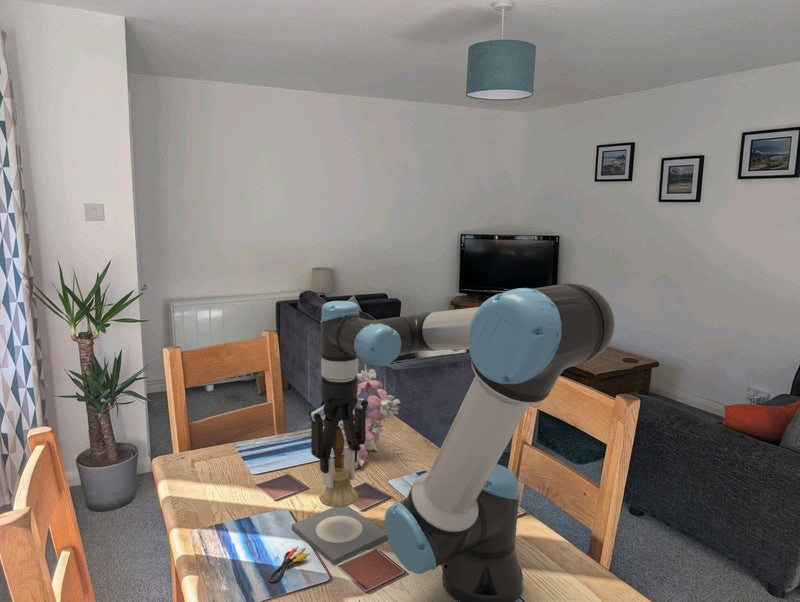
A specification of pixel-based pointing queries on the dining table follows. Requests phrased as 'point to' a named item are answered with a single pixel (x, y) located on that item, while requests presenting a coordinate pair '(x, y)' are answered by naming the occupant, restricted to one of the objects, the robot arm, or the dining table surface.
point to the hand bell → (339, 479)
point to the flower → (372, 412)
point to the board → (339, 533)
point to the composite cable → (289, 562)
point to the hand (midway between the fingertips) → (338, 481)
